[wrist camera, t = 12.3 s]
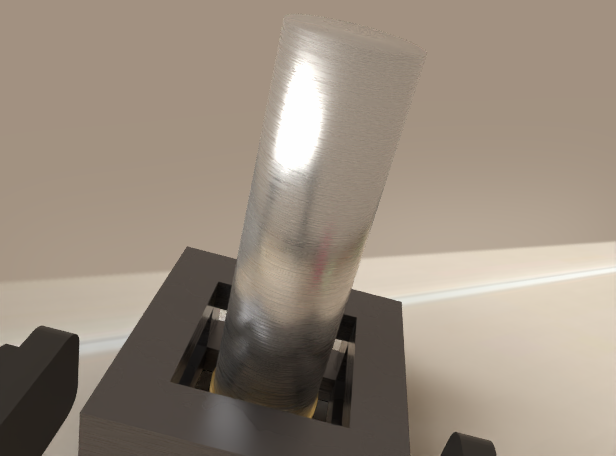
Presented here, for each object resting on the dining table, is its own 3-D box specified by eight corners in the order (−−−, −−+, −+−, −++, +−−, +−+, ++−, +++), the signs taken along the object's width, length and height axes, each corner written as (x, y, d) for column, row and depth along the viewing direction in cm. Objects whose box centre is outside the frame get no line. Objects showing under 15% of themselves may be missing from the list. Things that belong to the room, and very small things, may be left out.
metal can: (186, 468, 23) (267, 24, 15) (216, 390, 27) (292, 7, 19) (293, 496, 23) (436, 68, 14) (307, 413, 27) (424, 41, 19)
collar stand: (76, 517, 20) (80, 412, 18) (175, 331, 30) (187, 246, 27) (366, 592, 20) (412, 498, 18) (371, 382, 30) (401, 301, 27)
